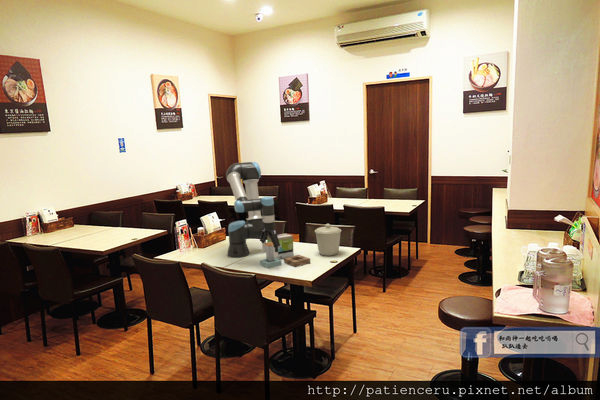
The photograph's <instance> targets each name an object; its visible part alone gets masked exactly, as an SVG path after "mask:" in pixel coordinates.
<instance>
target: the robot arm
mask: <svg viewBox="0 0 600 400" xmlns="http://www.w3.org/2000/svg"><path fill="white" fill-rule="evenodd" d="M225 178H226V180H227V182H228V183H229V185H230V188H231V191H232V193H233V196H234V199H235V201H234V203H233V204H234V205H233V208H234V211H235V212H236V213H248V218H247V220H246V221H245V220H235V221H232V222H229V224H228V228H227V229H228V244H229V245H228V249H227V253H226V254H227V257H229V258H238V259H239V258H243V257H248V256H249V255H250V249H249V247H248V244H247V240H249V239H250V240H251V239H259V242H261V249H262V254H264V253H266V245H265V243H267V237H269V238H271V240H272V243H273V245H274V247H273V250H274V257H278V246H280V243H279V240H278V236H277V235H278V233H277V230H274V228H275V227H276V226H275V225H276V224H275V220H276V219H275V201H274V197H273V196H263V197H260V196H259V195H260V194H259V189H258V183H259V180H260V178H262V170H261V168H260V165H259V163H258V162H256V161H255V162H252V161H249V162H235V163H232V164H231V165H230V166H229V167H228V169H227V170H226V173H225ZM242 183H243V184H244V185H245V188H244V186H243V184H242ZM272 235H273V236H272Z"/></svg>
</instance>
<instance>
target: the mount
mask: <svg viewBox="0 0 600 400" xmlns="http://www.w3.org/2000/svg"><path fill="white" fill-rule="evenodd" d="M282 263H283V262H282V260H281V259H276V258H274V261H273V262H267V259H266V258H263V259H260V260H259V265H260V266H261V267H264V268H266V269H272V268H276V267H278V266H279V267H281V266H282Z"/></svg>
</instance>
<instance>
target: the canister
mask: <svg viewBox="0 0 600 400" xmlns="http://www.w3.org/2000/svg"><path fill="white" fill-rule="evenodd" d="M324 225H325V226H320V227H317V228H316V229H315V230H314V233H315V236H316V237H315V238H316V243H317V250H318V251H317V252H318V253H319V254H320V255H321V256H323V257H324V256H326V257H329V256H335V255H337V254H338V253H339V250H340V244H341V243H340V241H341V232H342V229H341V228H339V227H338V226H331V224H330V223H326V224H324Z"/></svg>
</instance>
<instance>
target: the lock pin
mask: <svg viewBox="0 0 600 400" xmlns="http://www.w3.org/2000/svg"><path fill="white" fill-rule="evenodd" d="M265 245H266V254H265V255H266V257H265V259H267V262H273V261H274V250H273V247H274V245H273V243H272V242H268V243H267V242H266V243H265Z"/></svg>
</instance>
